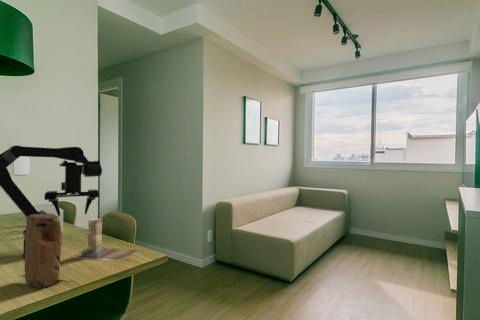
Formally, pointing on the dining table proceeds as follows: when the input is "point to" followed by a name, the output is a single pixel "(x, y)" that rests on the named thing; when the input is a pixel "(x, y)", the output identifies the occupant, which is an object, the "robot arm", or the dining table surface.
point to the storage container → (50, 211)
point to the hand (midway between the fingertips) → (72, 215)
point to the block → (42, 249)
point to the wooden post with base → (94, 239)
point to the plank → (109, 255)
